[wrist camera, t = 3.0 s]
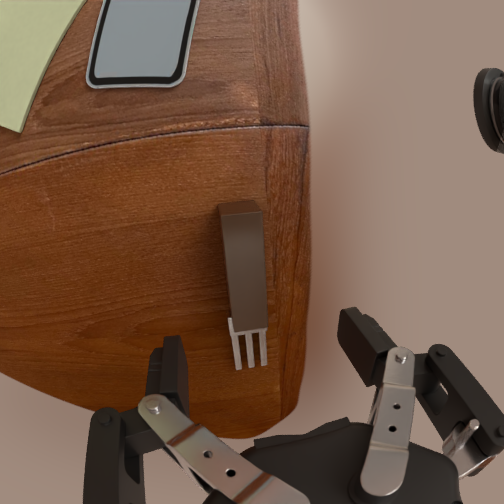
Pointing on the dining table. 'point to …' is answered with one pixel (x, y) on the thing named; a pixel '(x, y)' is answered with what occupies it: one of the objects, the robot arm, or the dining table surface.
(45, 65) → the placemat
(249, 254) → the fork
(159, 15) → the smartphone
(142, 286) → the dining table surface
